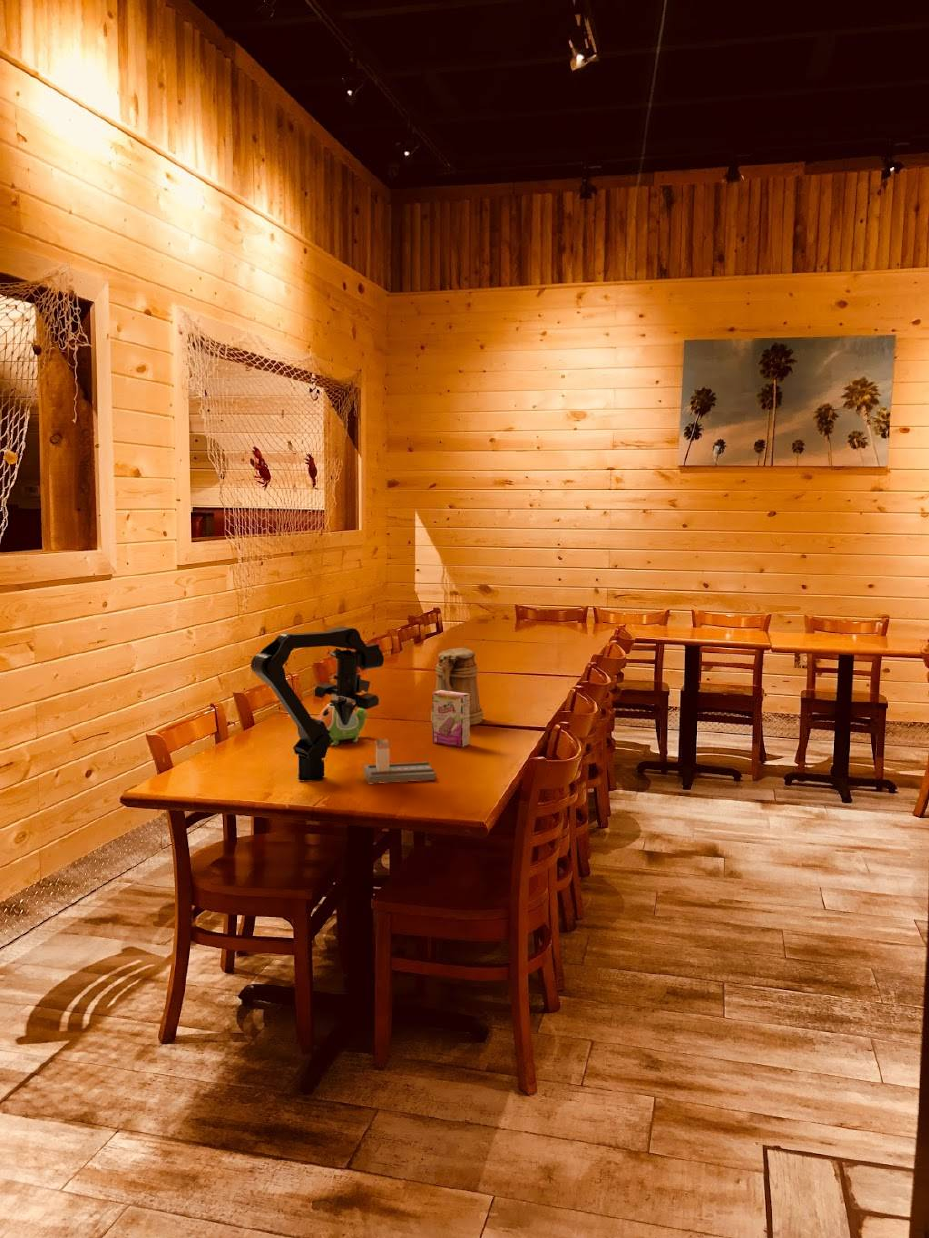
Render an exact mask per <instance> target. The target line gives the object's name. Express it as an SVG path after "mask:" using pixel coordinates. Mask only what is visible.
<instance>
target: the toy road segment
mask: <svg viewBox="0 0 929 1238" xmlns="http://www.w3.org/2000/svg"><path fill="white" fill-rule="evenodd" d="M389 770H390V771H379V772H378V770H377V768H376V764H367V765H365V764H364V765H363V772H365V773H364V776H365V775H366V776H365V779H366V780H368V781H367V783H368V782H369V783H379V782H396V781H410V780H436V773H435V771H434V768H432V767H431V765H430V761H422V762H421V761H420V762H419V761H418V762H417V761H416V762H401V763H400V762H399V763H389Z"/></svg>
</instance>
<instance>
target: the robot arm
mask: <svg viewBox="0 0 929 1238" xmlns="http://www.w3.org/2000/svg"><path fill="white" fill-rule="evenodd" d="M317 647H335V649H334V650H333V651H332V652H331V653H330V655H329V656H330V657H332V658H334V659H336V662H337V663H336V674H334V676H333V680H336V684H334V683H329V682H325V683H322V684H319V685H317V686H316V687H315V688H314V691H313V692H314V695H313V696H314V697H318V698H321V699H323V698H324V697H325V696H326V695H329V696H331V700H330V703H332V704H333V706H334V707H335V709H336V711H337V713H338V715H339V717H340V719H341V721H342V723H343V725H347V724H348V722H349V720H350V717H351V715H352V712H353V710H354V711H355V709H356V707H357V709H358V708H362V709H365V710H369V709H372V708H374V707H377V706H379V704H380V698H379V696H378V695H377V694H372V693H369V688H370V686H371V685H370V684H371V681H369V680H366V679H362V678H361V676H362V675H360V673H358V669H360V670H361V671H362V670H363V671H364V670H370V669H376V668H377V669H378V668H381V667H382V666H383V665H384V659H385V657H384V655H383V652H382V650H381V648H380V644H378V643H371V644H367V645H366V643H365V642H364V641H363V639H362V637H361V634H360V632H359V630H358V629H356V628H353V627H347V626H344V625H340V626H337V627H334V628H330V629H328V630H325V631H315V632H311V631H310V632H297V633H287V632H283V633H280V634H279V635H278V636H277V637H276V638H275V639H274V640H272V641H271V642H270V643H269V644H268V645H266V646H264V648H263V649H261V651H260V652H259V653H257V654H255V655H254V656H253V658H252V659H251V663H250V668H251V671H252V672H253V673H254V674H255V675H256V676H257V677H258V678H259V679H260V680H262V681H263V682H264V683H265V684H266V685H268V686H269V688H271V690H272V691H273V692H274V694H275V695H276V697H277V698H278V700H279V701H280V703H281V704H282V706H283V708H284V709H285V710H286V712H287V713H288V715H289V716H290V718H291V720H292V721H293V722H294V723H295V725H296V727H297V734H298V736H299V740H298V741H297V742H296V743H295V744H294V745H293V747H292V749H293V752H294V754H295V755H297V757H298V760H297V761H298V763H297V764H298V773H297V777H298V781H299V780H316V781H323V780H324V777H325V761H324V758H326V756H327V753H328V749H329V747H330V746H331V745H330V744H331V743H332V740H331V736H330V734H329V733H331V732H330V731H329V730H328V729H327V728H326V726H325V724H324V722H323V721H320V720H318V719H317V718H315V717H314V718H313V717H312V716H311V715H310V714H309V712H308V710H307V708H305V706H304V704H303V703H302V701H301V700H300V698H299V697H298V695H297V694H296V693H295V691H294V689H293V688H292V687H291V685H290V684H289V683H290V682H288V680H287V677H286V671H285V668H284V666H285V664H286V663H287V662H288V660H289V657H290V655H291V653H292V651H293V650H295V649H301V648H302V649H303V648H317ZM339 648H341V649H343V650H341V649H339ZM352 650H354V651H352ZM362 691H364V692H365V693H363V694H361V693H362ZM330 703H329V704H330Z"/></svg>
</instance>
